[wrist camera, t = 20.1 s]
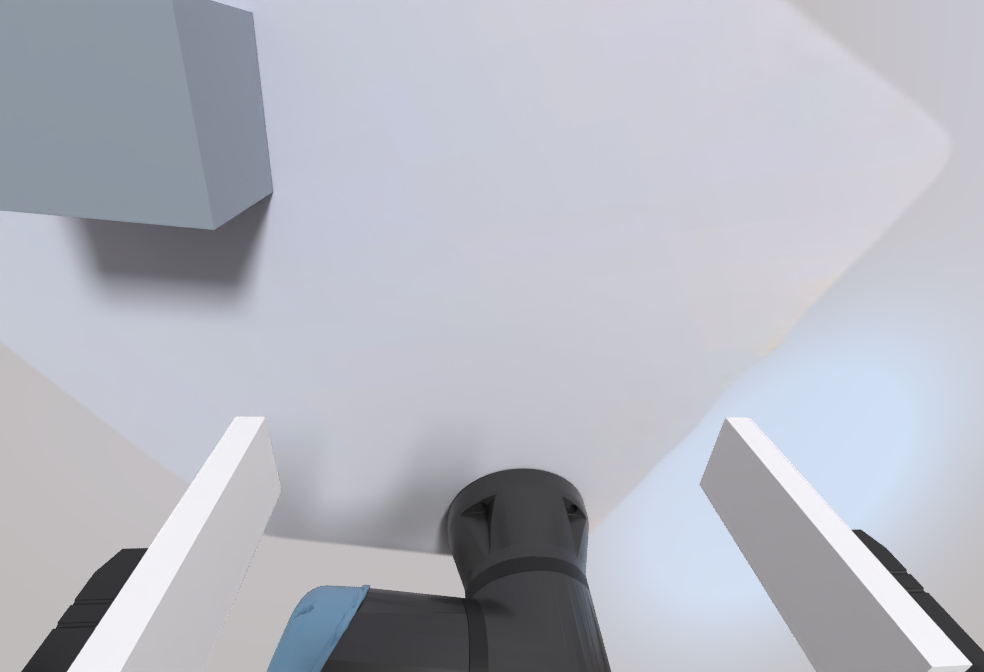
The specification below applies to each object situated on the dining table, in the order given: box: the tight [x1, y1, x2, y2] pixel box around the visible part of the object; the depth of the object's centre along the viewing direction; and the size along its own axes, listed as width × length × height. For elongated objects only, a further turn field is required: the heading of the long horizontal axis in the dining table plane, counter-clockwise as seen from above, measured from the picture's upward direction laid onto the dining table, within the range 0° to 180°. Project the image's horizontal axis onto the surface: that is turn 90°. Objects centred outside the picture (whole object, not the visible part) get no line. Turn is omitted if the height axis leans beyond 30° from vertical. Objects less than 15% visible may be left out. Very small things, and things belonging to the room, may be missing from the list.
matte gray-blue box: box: [0, 0, 273, 230], centre depth 24 cm, size 10×10×9 cm
